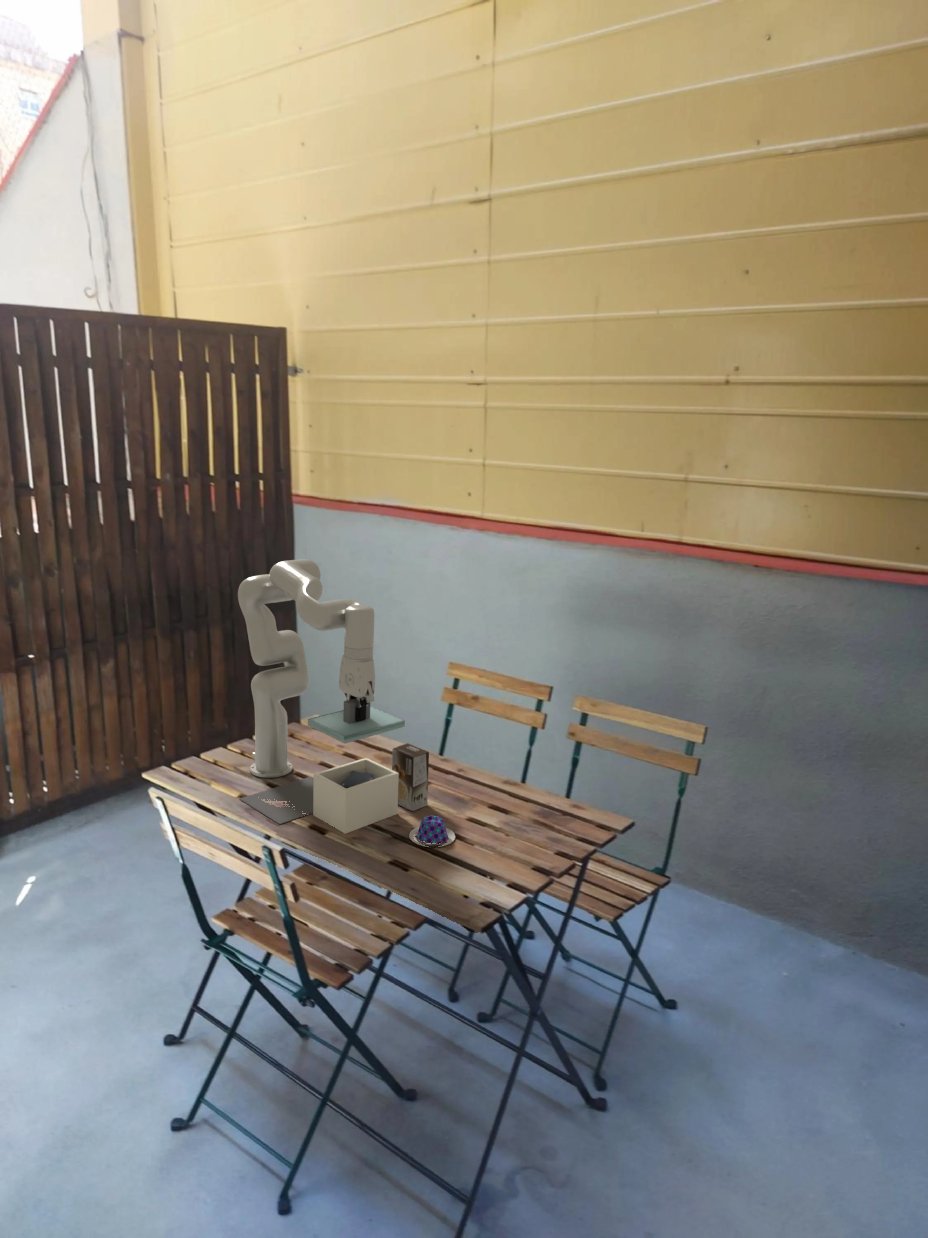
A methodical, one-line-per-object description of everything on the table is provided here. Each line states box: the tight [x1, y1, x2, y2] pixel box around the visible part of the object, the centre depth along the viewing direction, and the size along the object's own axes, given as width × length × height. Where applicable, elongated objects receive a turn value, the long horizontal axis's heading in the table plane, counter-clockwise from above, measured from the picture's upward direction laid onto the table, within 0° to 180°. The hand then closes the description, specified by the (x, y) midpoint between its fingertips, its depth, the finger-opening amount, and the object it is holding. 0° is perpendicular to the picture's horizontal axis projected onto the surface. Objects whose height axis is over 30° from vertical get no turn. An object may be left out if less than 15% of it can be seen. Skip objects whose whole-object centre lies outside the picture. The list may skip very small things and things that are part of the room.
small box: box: [340, 771, 373, 789], centre depth 225 cm, size 11×6×10 cm, turn 168°
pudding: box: [408, 815, 456, 848], centre depth 215 cm, size 12×12×5 cm
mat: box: [239, 776, 314, 826], centre depth 234 cm, size 20×24×1 cm
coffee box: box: [391, 743, 430, 812], centre depth 233 cm, size 9×6×16 cm
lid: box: [307, 698, 406, 744], centre depth 220 cm, size 16×20×7 cm
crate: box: [312, 757, 399, 835], centre depth 225 cm, size 14×18×12 cm
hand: (356, 718), depth 221 cm, fingers closed on lid, 2 cm apart
